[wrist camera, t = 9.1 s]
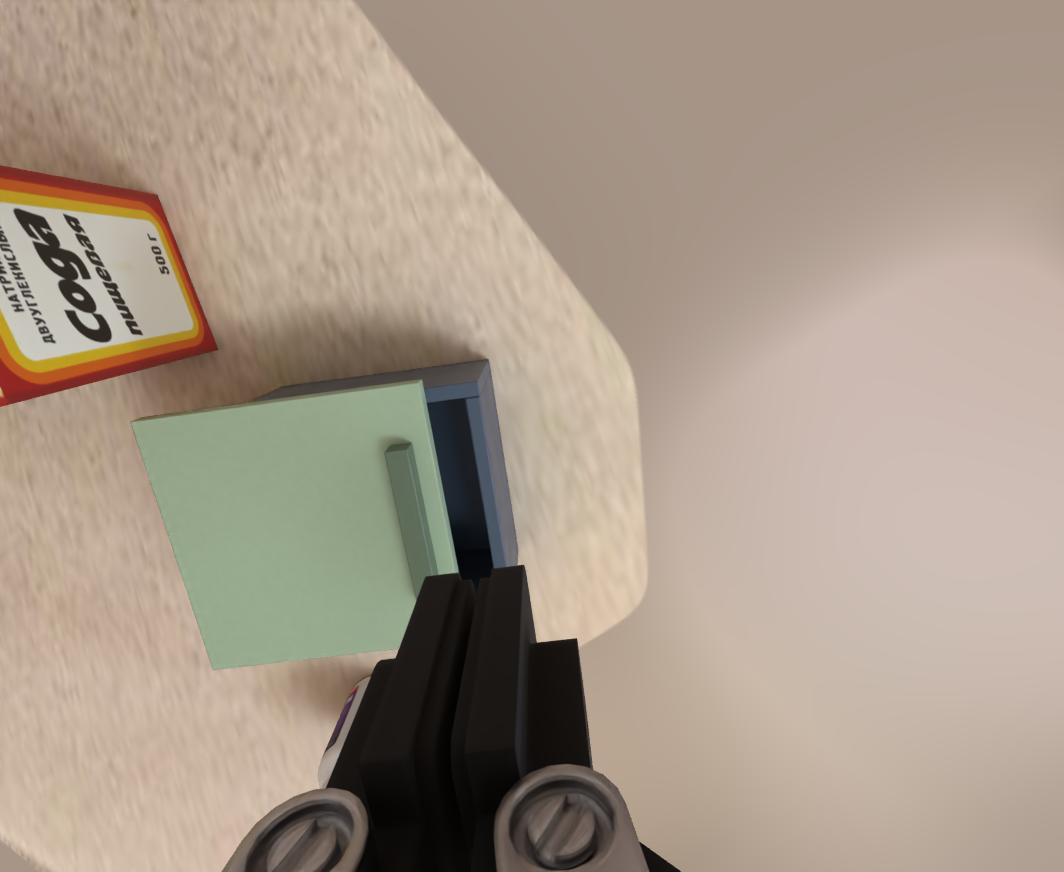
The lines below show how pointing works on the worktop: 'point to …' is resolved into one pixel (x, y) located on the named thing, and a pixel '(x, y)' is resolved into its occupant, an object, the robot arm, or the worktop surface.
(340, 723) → the pill bottle
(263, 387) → the worktop surface
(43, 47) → the worktop surface
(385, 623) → the bin lid
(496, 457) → the storage bin
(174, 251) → the baking soda box
